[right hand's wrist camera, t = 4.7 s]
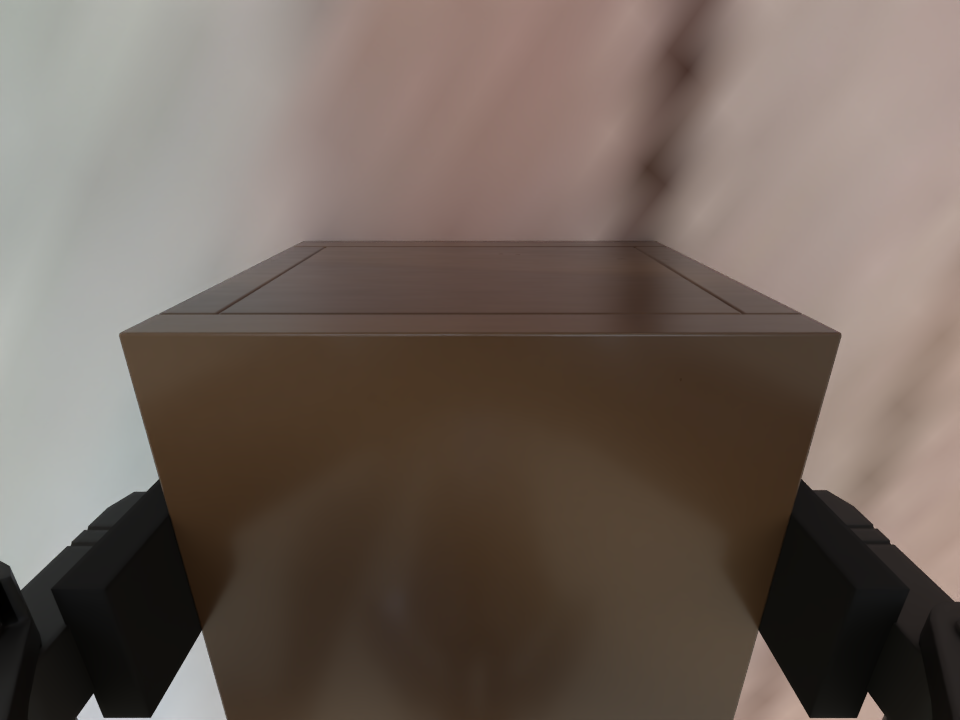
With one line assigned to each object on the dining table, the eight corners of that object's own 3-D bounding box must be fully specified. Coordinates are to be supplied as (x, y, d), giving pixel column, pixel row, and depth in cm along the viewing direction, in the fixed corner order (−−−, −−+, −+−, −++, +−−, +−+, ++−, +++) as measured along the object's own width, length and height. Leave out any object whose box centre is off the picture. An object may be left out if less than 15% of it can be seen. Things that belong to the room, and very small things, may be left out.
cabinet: (606, 633, 21) (680, 910, 13) (352, 633, 21) (279, 911, 13) (657, 240, 15) (844, 333, 7) (301, 240, 15) (116, 333, 7)
